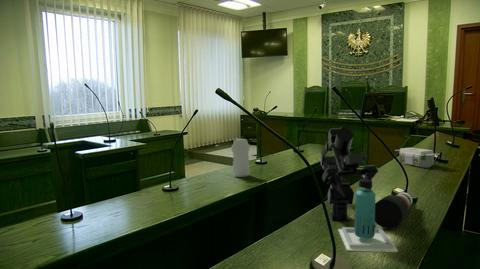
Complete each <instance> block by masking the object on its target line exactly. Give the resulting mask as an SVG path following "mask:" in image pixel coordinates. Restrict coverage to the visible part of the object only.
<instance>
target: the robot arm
mask: <svg viewBox="0 0 480 269" xmlns="http://www.w3.org/2000/svg"><path fill="white" fill-rule="evenodd" d="M327 135H328V136H327V138H328V141H326V142H325V147H324V149H322V151H321V153H320V166H321V167H322V170H323V171H324V172H323V173H322V176H321V179H322V181H323V183H324V184H325V183H327V185H330V187H329V189H328V191H327V203H328V204H330V205H331V212H329V216H330V218H331V220H332V221H345V222H346V221H351V220H350V217H349V216H348V205H353V202H354V196H355V191H354V189H353V187H351V184H350V182H349V181H350V180H349V179H346V178H344V177H353V176H354V177H355V176H356V177H358V176H360V179H369V180H371V181H372V179H374V177H375V176H376V175H377V173H379V169H378V168H377V166H376V165H374V164H371V165H370V164H369V165H367V164H366V165H364V166H363V167H362V169H359V167H360V164H363V163H364V162H366V161H367V160H368V157H367V154H366V152H365V151H360V152H358V153H351V150H350V148H351V146H352V143H353V139H354V132H353V131H352V130H351V129H350V128H347V126H346V125H342V126H340V127H338V128H337V127H333V128H330V129H329V131H328V133H327ZM328 152H332V154H333V155H327V153H328ZM343 178H344V179H343ZM372 182H373V181H372ZM365 189H370V190H372V188H365Z"/></svg>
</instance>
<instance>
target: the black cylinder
mask: <svg viewBox="0 0 480 269" xmlns="http://www.w3.org/2000/svg"><path fill="white" fill-rule="evenodd" d="M412 204H413V198H412V195H410V194H409V193H407V192H399V193H398V194H396V195H395V194H391V195H390V194H389V195H386V196H384V197H382V198H381V199H379V200H378V201H375V205H376V208H375V213H376V214H375V217H376V218H375V224H376V225H377V226H379V227H380V228H381V229H387V230H393V229H395V228H398V227H399V226H400V225H401V223H403V221H405V220H406V219H407V217H408V216H409V215H408V214H409V212H410V211H409V208H410V206H411V205H412Z"/></svg>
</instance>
